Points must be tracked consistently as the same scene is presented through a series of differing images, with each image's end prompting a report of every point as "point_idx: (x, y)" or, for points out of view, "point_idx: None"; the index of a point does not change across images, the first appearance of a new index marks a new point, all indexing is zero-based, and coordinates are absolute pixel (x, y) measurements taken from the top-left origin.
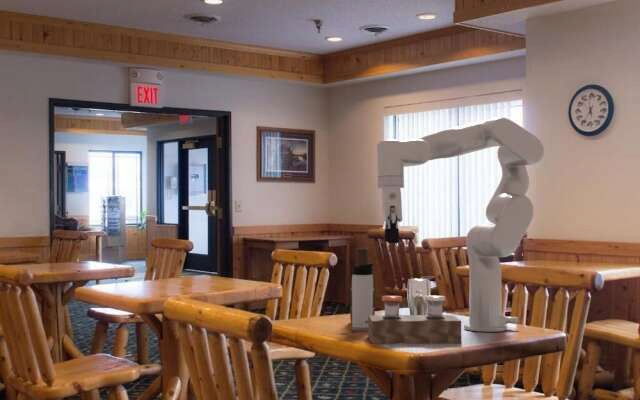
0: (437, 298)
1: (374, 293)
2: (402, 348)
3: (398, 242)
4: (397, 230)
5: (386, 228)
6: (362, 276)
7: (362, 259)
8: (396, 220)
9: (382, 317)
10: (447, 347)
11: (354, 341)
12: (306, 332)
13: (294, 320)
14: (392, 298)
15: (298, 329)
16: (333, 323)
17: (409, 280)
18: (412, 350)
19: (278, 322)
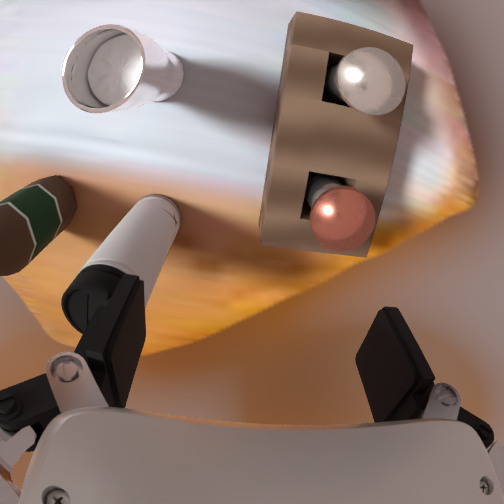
0: (403, 88)
1: (15, 198)
2: (413, 192)
3: (394, 308)
4: (425, 375)
5: (115, 406)
6: (145, 301)
7: None
8: (492, 437)
9: (299, 216)
10: (426, 102)
11: (315, 262)
12: (187, 326)
13: (47, 318)
14: (372, 227)
15: (150, 332)
16: (67, 261)
17: (113, 109)
18: (435, 181)
19: (74, 344)
